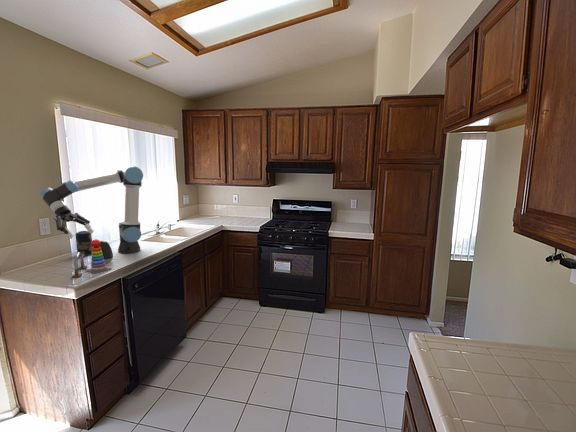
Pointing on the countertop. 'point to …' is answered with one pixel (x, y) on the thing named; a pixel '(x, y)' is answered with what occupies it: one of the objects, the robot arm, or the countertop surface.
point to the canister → (84, 242)
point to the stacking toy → (97, 256)
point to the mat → (97, 271)
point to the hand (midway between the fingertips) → (82, 234)
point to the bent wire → (77, 265)
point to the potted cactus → (106, 251)
